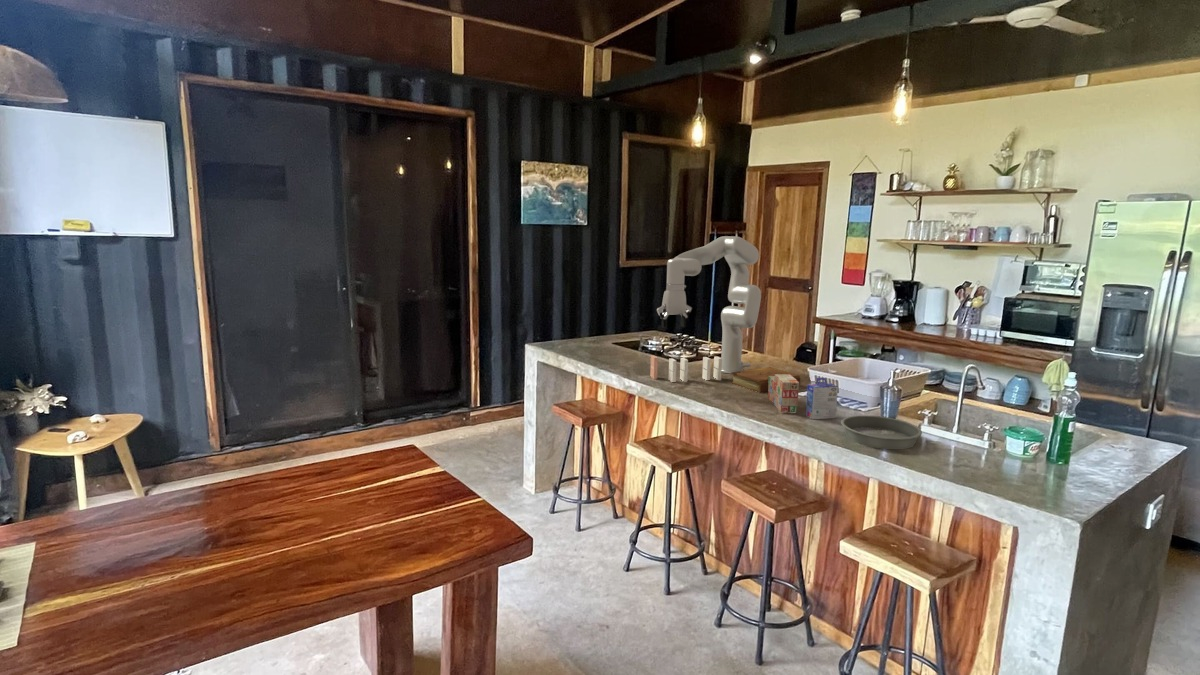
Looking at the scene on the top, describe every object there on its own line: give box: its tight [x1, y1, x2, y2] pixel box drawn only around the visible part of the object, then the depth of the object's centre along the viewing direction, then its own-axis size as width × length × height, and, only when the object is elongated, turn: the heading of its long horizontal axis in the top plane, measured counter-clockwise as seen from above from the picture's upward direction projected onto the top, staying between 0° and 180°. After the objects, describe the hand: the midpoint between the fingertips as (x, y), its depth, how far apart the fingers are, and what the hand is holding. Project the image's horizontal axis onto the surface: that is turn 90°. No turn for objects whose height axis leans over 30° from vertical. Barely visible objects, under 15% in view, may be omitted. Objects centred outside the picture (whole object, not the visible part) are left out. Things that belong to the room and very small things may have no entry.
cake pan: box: [840, 415, 923, 450], centre depth 210 cm, size 25×25×4 cm
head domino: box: [668, 358, 677, 383], centre depth 282 cm, size 2×5×10 cm, turn 14°
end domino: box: [713, 356, 723, 381], centre depth 287 cm, size 2×5×10 cm, turn 14°
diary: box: [730, 366, 801, 394], centre depth 278 cm, size 23×19×6 cm
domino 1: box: [679, 357, 689, 383], centre depth 283 cm, size 2×5×10 cm, turn 14°
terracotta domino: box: [649, 354, 659, 380], centre depth 288 cm, size 2×5×10 cm, turn 14°
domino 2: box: [701, 356, 712, 381], centre depth 286 cm, size 2×5×10 cm, turn 14°
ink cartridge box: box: [805, 377, 839, 420], centre depth 231 cm, size 10×6×14 cm, turn 99°
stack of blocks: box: [767, 374, 800, 414], centre depth 246 cm, size 21×6×12 cm, turn 178°
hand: (673, 327), depth 272 cm, fingers open, 9 cm apart
